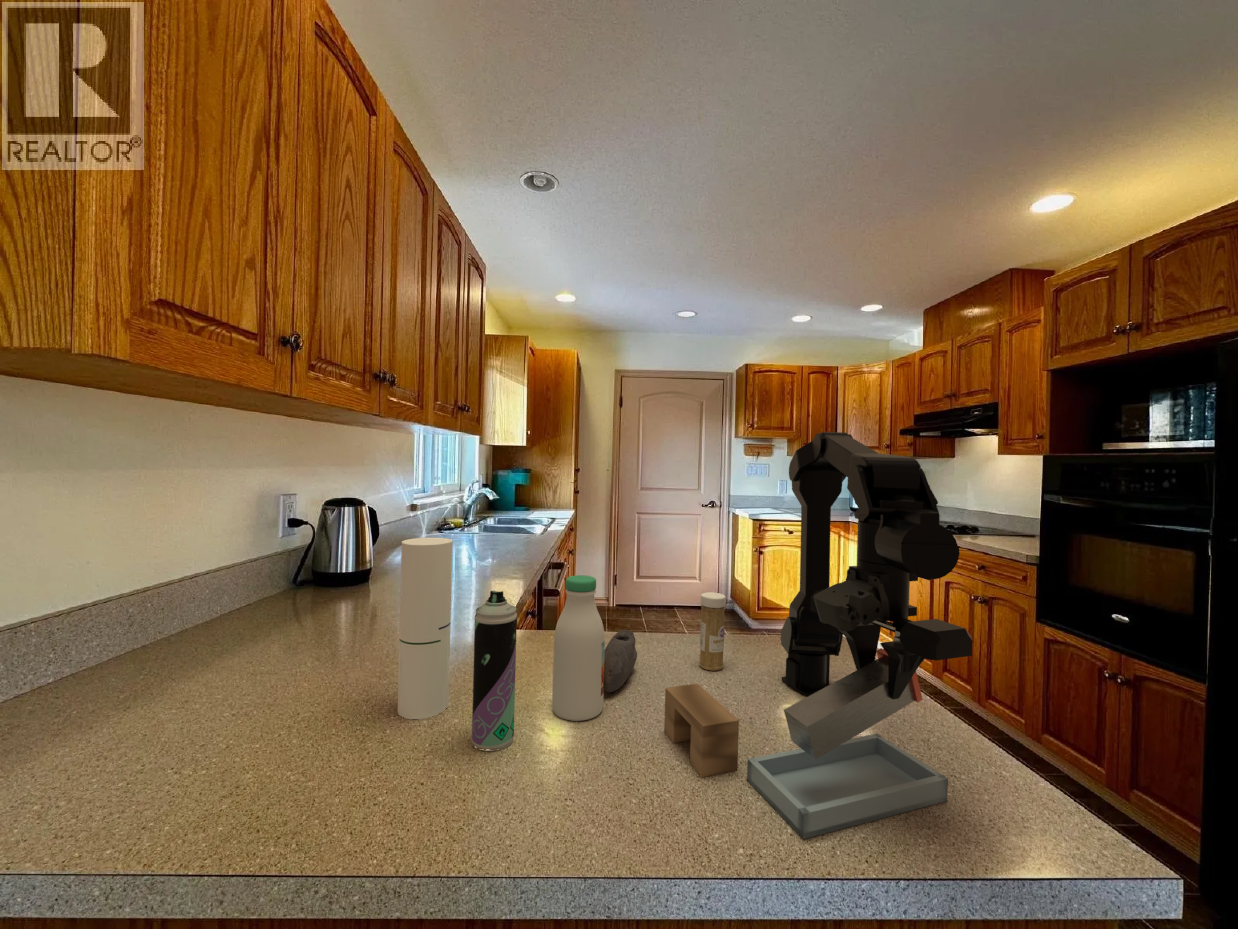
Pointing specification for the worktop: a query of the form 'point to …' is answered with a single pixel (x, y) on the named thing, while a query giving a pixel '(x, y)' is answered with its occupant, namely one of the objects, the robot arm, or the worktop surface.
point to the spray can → (494, 673)
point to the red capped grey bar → (847, 708)
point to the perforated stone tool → (619, 660)
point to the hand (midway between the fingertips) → (879, 690)
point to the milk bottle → (578, 654)
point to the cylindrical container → (424, 627)
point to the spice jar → (712, 631)
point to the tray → (845, 785)
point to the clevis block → (702, 729)
